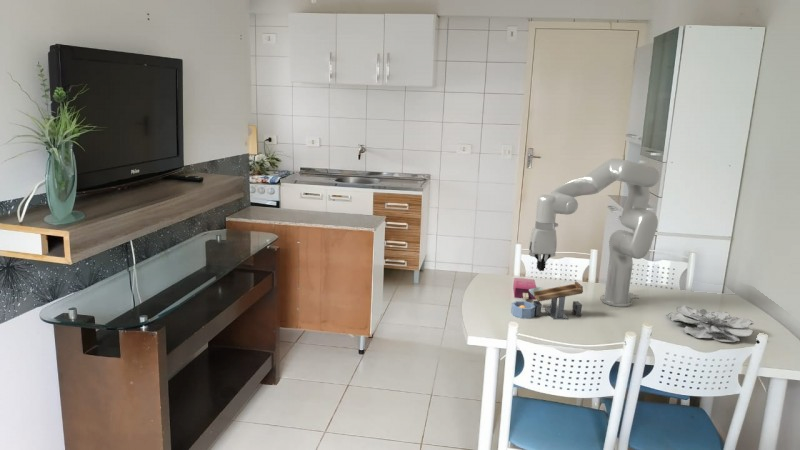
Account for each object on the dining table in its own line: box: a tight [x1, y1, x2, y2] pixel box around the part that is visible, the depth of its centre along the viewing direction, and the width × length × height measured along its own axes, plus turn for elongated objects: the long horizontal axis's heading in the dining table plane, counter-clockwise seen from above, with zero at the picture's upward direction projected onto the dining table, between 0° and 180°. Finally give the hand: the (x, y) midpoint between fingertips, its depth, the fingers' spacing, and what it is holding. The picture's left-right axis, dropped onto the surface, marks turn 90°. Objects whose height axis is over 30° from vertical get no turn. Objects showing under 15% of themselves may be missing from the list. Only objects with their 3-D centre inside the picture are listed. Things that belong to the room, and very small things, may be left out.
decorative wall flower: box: [665, 304, 755, 343], centre depth 225 cm, size 30×7×30 cm
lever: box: [529, 281, 584, 302], centre depth 234 cm, size 18×13×3 cm
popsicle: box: [512, 277, 537, 301], centre depth 253 cm, size 9×5×20 cm
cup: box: [510, 300, 535, 319], centre depth 231 cm, size 9×9×4 cm
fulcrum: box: [532, 296, 583, 320], centre depth 231 cm, size 19×10×9 cm, turn 96°
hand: (540, 269), depth 234 cm, fingers closed
